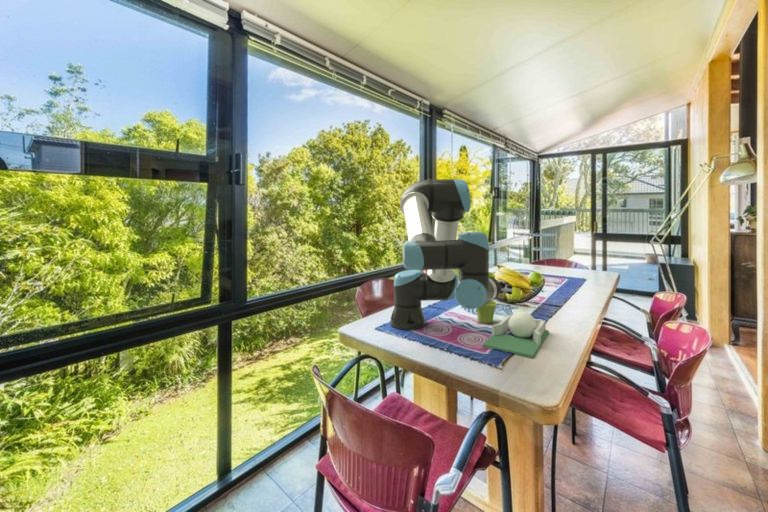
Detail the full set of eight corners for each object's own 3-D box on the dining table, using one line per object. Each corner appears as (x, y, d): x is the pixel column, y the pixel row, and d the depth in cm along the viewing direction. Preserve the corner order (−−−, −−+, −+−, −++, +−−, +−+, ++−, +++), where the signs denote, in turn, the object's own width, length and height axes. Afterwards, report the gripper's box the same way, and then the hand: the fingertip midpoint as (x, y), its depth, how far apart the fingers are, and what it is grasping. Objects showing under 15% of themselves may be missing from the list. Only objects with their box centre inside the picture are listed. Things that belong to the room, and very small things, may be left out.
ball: (512, 303, 135) (513, 322, 140) (503, 320, 129) (505, 339, 134) (539, 309, 129) (539, 328, 134) (531, 327, 123) (532, 346, 128)
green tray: (482, 346, 124) (482, 333, 123) (504, 324, 146) (505, 313, 145) (533, 358, 114) (534, 344, 113) (549, 332, 136) (549, 320, 135)
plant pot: (497, 325, 145) (498, 306, 143) (474, 324, 147) (475, 305, 145) (495, 318, 154) (495, 300, 152) (473, 317, 156) (474, 299, 154)
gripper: (460, 299, 100) (481, 292, 121) (506, 306, 94) (521, 297, 114) (462, 274, 100) (483, 271, 120) (509, 279, 93) (522, 274, 114)
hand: (501, 283), depth 117 cm, fingers closed
